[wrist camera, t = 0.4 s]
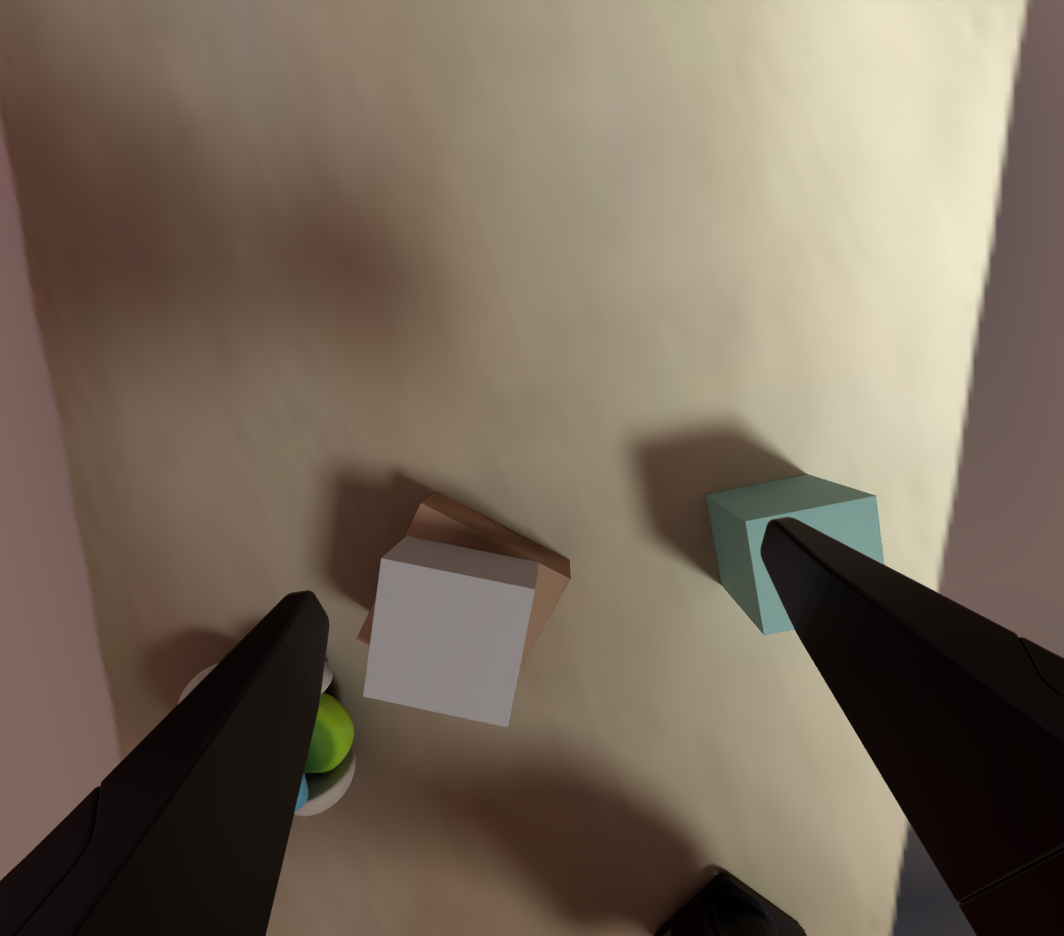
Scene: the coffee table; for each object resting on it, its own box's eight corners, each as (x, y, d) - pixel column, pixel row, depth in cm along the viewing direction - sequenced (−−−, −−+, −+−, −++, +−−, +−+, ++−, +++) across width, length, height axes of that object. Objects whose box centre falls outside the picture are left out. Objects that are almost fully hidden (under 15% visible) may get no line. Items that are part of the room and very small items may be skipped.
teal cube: (805, 473, 22) (876, 495, 17) (818, 566, 23) (890, 613, 18) (705, 494, 23) (745, 521, 18) (721, 584, 23) (764, 634, 18)
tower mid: (538, 562, 21) (534, 589, 18) (515, 683, 22) (508, 727, 19) (406, 535, 21) (381, 558, 18) (389, 656, 22) (363, 696, 19)
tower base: (569, 556, 24) (570, 578, 21) (504, 673, 25) (497, 709, 23) (438, 489, 24) (420, 502, 21) (380, 610, 25) (356, 639, 22)
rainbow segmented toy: (197, 653, 26) (61, 750, 19) (353, 634, 25) (272, 729, 18) (234, 778, 27) (119, 914, 20) (384, 765, 27) (319, 901, 19)
